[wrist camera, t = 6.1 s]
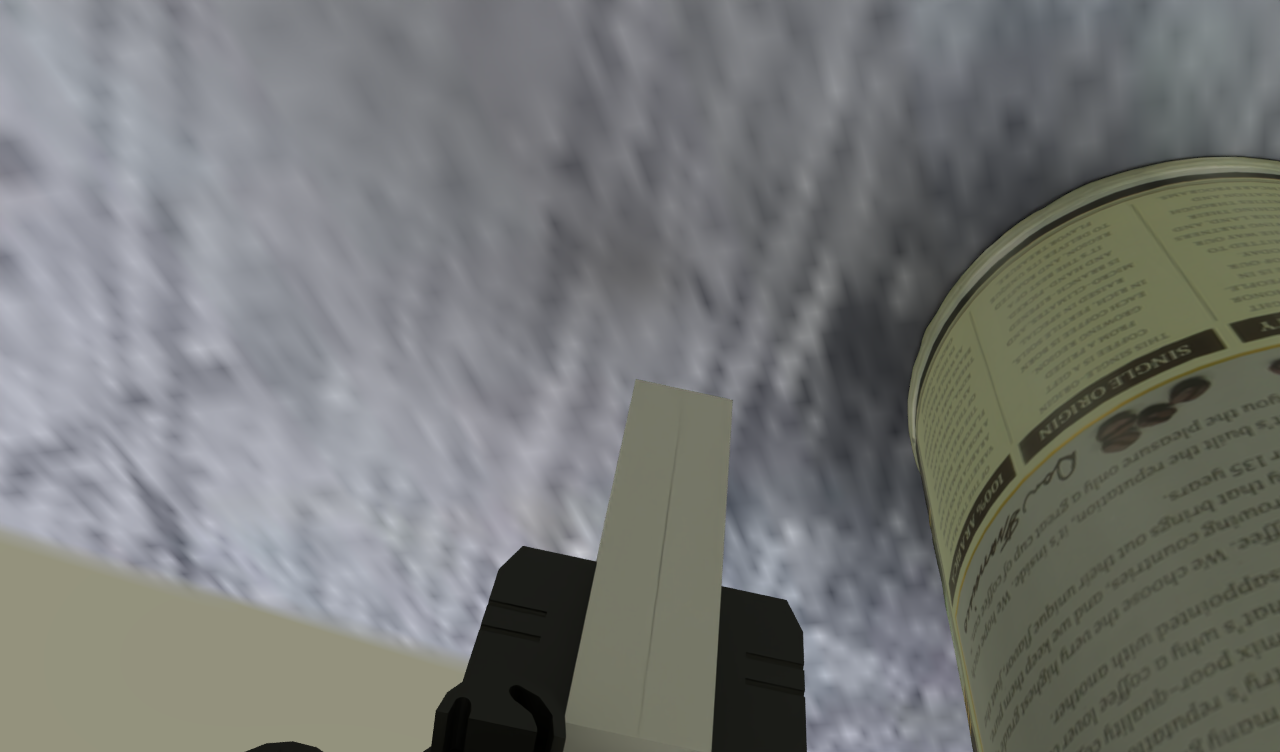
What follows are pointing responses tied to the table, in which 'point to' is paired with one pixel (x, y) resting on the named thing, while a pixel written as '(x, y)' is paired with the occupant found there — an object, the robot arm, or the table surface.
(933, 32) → the table surface
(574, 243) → the table surface
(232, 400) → the table surface
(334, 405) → the table surface
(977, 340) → the coffee can
